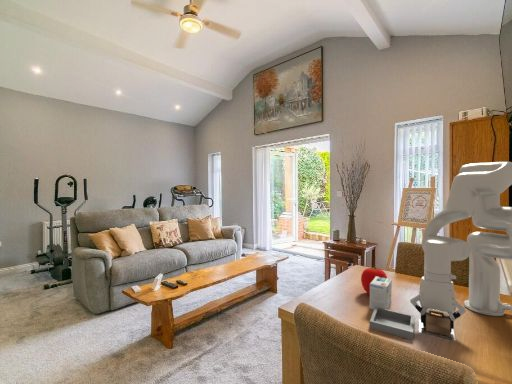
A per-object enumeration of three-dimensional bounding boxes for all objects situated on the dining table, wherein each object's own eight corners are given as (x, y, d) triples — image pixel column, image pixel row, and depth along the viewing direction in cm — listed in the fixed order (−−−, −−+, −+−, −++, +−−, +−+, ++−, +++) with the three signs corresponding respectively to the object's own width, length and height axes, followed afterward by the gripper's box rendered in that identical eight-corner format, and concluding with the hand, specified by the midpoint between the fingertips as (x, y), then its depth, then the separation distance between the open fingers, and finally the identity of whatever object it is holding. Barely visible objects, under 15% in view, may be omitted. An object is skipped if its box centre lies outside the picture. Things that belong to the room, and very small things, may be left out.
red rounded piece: (362, 298, 117) (362, 270, 117) (359, 289, 128) (359, 263, 127) (390, 301, 114) (390, 272, 114) (384, 291, 125) (385, 265, 124)
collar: (446, 326, 92) (446, 312, 91) (450, 335, 86) (450, 320, 86) (424, 321, 95) (424, 308, 94) (426, 330, 89) (426, 316, 89)
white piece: (452, 329, 92) (453, 312, 91) (455, 344, 83) (456, 325, 83) (419, 321, 97) (419, 305, 97) (418, 334, 89) (419, 316, 88)
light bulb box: (375, 299, 116) (375, 275, 116) (391, 303, 112) (392, 278, 112) (369, 308, 108) (369, 282, 107) (387, 313, 104) (387, 286, 103)
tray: (414, 324, 95) (414, 315, 95) (412, 343, 84) (413, 332, 84) (375, 315, 102) (375, 306, 102) (369, 330, 91) (369, 321, 91)
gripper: (466, 276, 89) (465, 328, 89) (407, 269, 97) (407, 316, 98) (471, 284, 82) (471, 340, 83) (408, 275, 90) (408, 326, 91)
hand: (436, 327), depth 90 cm, fingers closed on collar, 6 cm apart
